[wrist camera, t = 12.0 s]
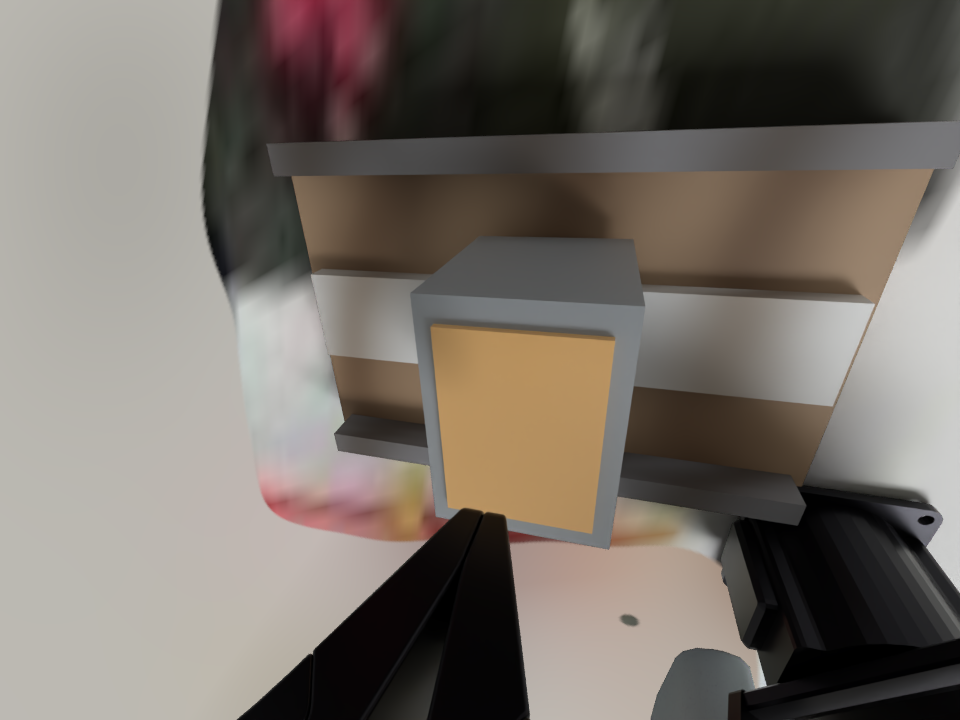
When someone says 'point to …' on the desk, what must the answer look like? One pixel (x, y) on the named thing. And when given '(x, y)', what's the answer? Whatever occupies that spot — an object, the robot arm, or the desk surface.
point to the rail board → (663, 272)
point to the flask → (701, 685)
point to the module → (531, 380)
